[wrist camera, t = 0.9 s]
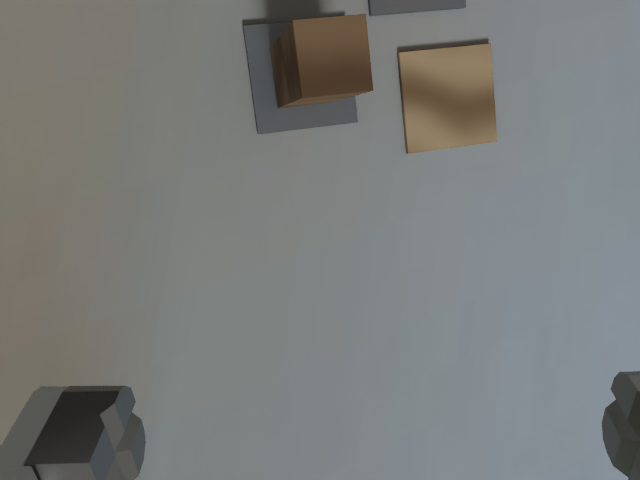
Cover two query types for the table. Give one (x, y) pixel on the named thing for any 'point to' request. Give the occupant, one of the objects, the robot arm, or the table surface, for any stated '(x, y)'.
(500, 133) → the table surface
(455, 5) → the slate tile
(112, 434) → the robot arm
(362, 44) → the walnut pillar
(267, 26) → the slate tile
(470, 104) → the cork pad
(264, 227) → the table surface
